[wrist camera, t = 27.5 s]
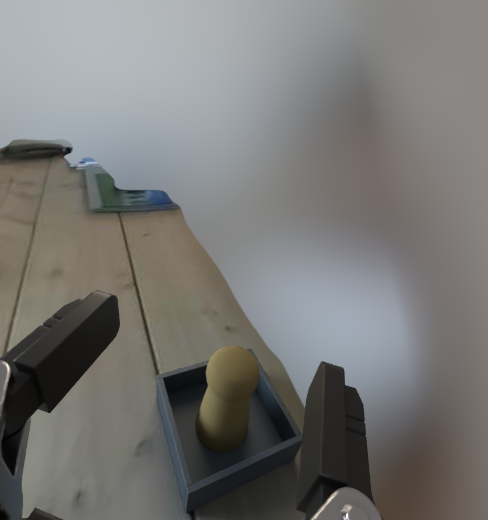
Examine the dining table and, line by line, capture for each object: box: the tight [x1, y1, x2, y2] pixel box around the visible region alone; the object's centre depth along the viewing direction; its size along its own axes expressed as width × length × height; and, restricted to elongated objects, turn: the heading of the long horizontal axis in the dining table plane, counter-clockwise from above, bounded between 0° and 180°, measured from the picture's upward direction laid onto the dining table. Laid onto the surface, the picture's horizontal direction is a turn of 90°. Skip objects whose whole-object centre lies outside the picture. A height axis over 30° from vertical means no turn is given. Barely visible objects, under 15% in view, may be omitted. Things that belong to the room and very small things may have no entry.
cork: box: [195, 346, 260, 453], centre depth 31 cm, size 6×6×11 cm
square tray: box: [157, 349, 303, 513], centre depth 33 cm, size 12×12×4 cm
